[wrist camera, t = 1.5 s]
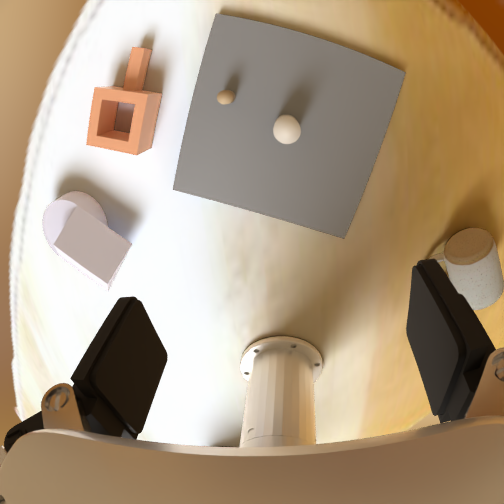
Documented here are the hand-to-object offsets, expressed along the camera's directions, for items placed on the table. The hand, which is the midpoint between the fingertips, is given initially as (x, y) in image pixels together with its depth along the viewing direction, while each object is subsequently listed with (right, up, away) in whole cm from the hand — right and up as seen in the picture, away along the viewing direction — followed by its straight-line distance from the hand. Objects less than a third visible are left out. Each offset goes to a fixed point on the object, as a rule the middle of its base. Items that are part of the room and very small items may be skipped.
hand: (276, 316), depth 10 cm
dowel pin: (-3, +18, +19) cm, 26 cm away
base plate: (+3, +15, +21) cm, 26 cm away
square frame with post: (-14, +19, +21) cm, 31 cm away
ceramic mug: (+26, +1, +27) cm, 37 cm away
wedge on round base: (-22, +5, +29) cm, 37 cm away
